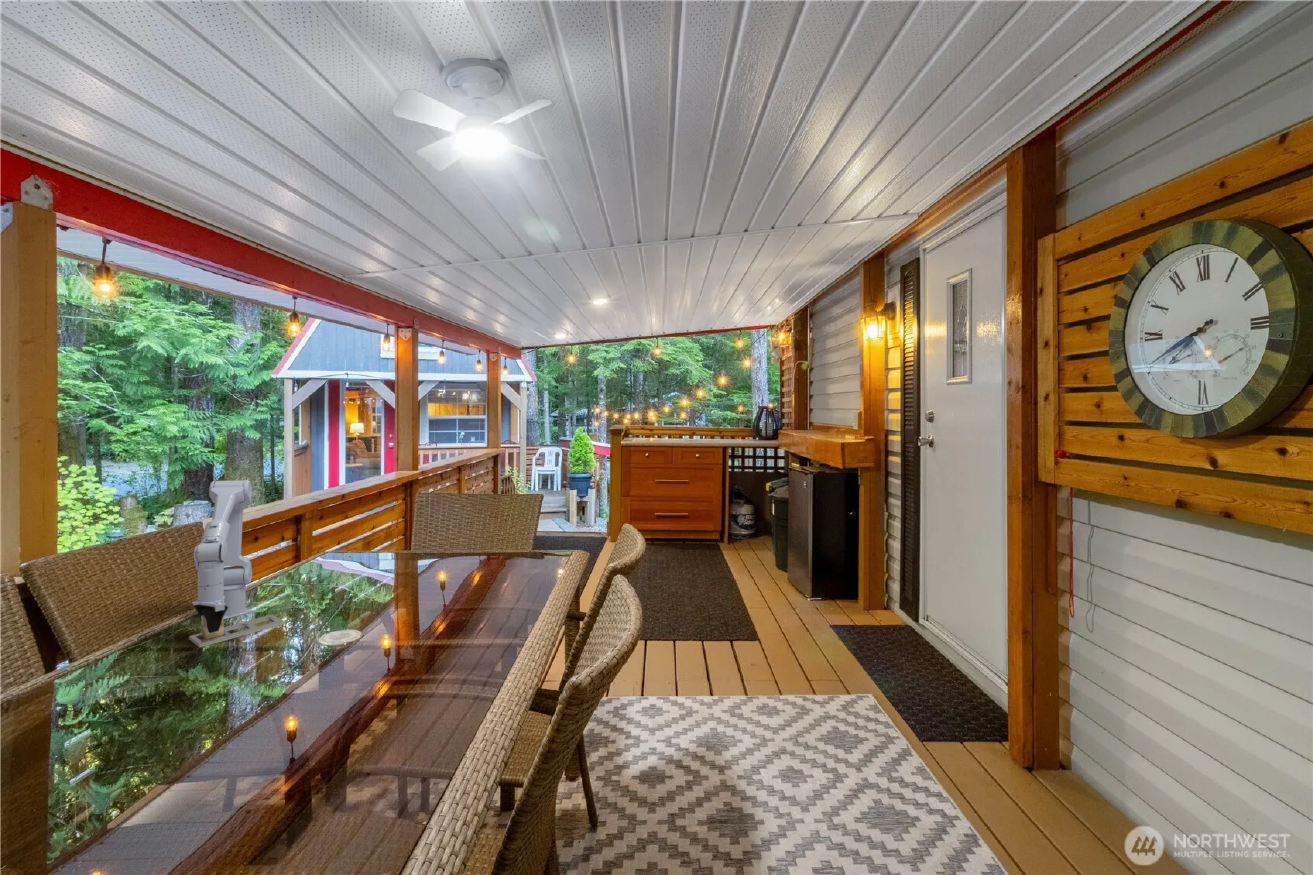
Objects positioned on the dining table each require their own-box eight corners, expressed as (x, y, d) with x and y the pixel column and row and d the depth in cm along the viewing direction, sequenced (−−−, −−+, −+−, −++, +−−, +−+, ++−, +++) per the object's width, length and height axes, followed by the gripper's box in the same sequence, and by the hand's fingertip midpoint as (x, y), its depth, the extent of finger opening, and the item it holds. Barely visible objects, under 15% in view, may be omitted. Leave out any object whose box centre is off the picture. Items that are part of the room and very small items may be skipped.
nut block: (201, 635, 150) (201, 615, 149) (218, 631, 153) (218, 611, 153) (206, 639, 148) (206, 618, 147) (223, 634, 151) (223, 614, 151)
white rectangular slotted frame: (189, 639, 149) (189, 636, 149) (272, 617, 166) (272, 614, 166) (199, 647, 145) (199, 644, 144) (283, 624, 162) (283, 621, 162)
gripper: (184, 581, 150) (184, 627, 150) (202, 592, 142) (202, 640, 143) (214, 575, 156) (215, 620, 156) (233, 586, 148) (233, 632, 148)
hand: (210, 629), depth 150 cm, fingers closed on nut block, 4 cm apart
